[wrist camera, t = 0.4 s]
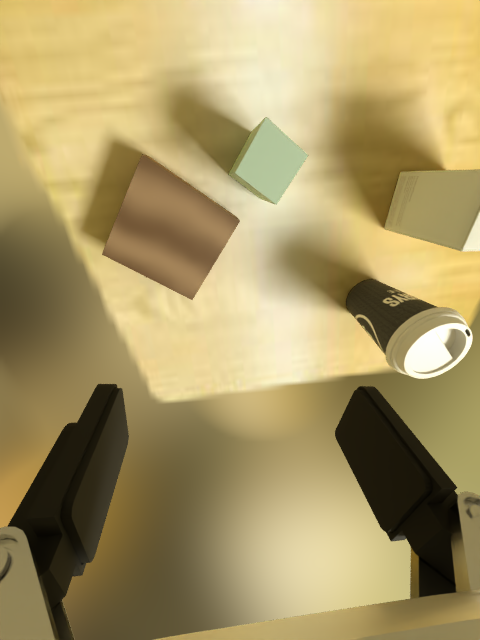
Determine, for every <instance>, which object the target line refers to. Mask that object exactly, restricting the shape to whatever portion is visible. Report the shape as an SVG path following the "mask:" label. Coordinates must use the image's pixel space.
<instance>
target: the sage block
mask: <svg viewBox="0 0 480 640" xmlns="http://www.w3.org/2000/svg"><path fill="white" fill-rule="evenodd" d="M307 157H308V155H307V154H306V153H305V152H304V151H303V150H302V149H301V148H300V147H299V146H298V145H296V144H295V143H294V142H293V141H292V140H291V139H290V138H289V137H288V136H287V135H285V134H284V133H283V132H282V131H281V130H280V129H279V128H278V127H277V126H276V125H275V124H273V123H272V122H271V121H270V120H269V119H268V118H267V117H265V118H264V119H263V121H262V122H261V123H260V124H259V125H258V126H257V127H256V128H255V129H254V130H253V131H252V132H251V134H250V135H249V137H248V139H247V141H246V143H245V145H244V146H243V148H242V150H241V152H240V154H239V156H238V157H237V159H236V161H235V163H234V165H233V167H232V168H231V170H230V172H229V174H228V175H230V176H231V177H232V178H234V179H235V180H236V181H238V182H239V183H240V184H242V185H243V186H244V187H246V188H247V189H248V190H250V191H251V192H252V193H254V194H255V195H256V196H258V197H259V198H260V199H262V200H265V201H268V202H270V203H273V204H276V205H277V203H278V202H279V200H280V198H281V197H282V195H283V194H284V192H285V191H286V189H287V188H288V186H289V184H290V183H291V181H292V180H293V178H294V177H295V175H296V174H297V172H298V171H299V169H300V167H301V166H302V164H303V163H304V161H305V160H306V158H307Z"/></svg>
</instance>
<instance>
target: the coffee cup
mask: <svg viewBox="0 0 480 640" xmlns="http://www.w3.org/2000/svg"><path fill="white" fill-rule="evenodd" d="M346 305H347V309H348V310H349V311H350V313H351V314H352V315H353V316H354V318H355V319H356V320H357V321H358V322H359V323H360V325H361V326H362V327H363V328H364V329H365V331H366V332H367V333H368V334H369V336H370V337H371V338H372V339H373V340H374V342H375V343H376V344H377V345H378V346H379V348H380V349H381V350H382V351H383V353H384V354H385V355H386V360H387V363H388V364H389V366H390V367H391V368H393V369H394V370H396V371H398V372H400V373H403V374H406V375H410V376H412V377H415V378H430V377H434V376H437V375H439V374H442V373H444V372H446V371H447V370H449V369H451V368H452V367H453V366H455V365H456V364H457V363H458V362H459V361H460V360H461V359H462V358H463V357H464V356H465V354H466V353H467V352H468V350H469V348H470V346H471V343H472V332H471V330H470V329H469V327H468V325H467V323H466V321H465V320H464V318H463V317H462V316H461V315H460V314H459V313H458V312H457V311H456V310H454V309H451V308H447V307H436V306H434V305H431V304H429V303H427V302H424V301H422V300H420V299H418V298H415V297H413V296H411V295H408V294H406V293H404V292H401V291H399V290H397V289H395V288H392V287H390V286H388V285H386V284H383V283H381V282H379V281H376V280H365V281H363V282H360V283H359V284H357V285H356V286H355V287H354V288H353V289H352V290H351V291H350V293H349V294H348V297H347V300H346Z"/></svg>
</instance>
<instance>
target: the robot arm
mask: <svg viewBox="0 0 480 640" xmlns="http://www.w3.org/2000/svg"><path fill="white" fill-rule="evenodd" d="M335 436H336V439H337V441H338V443H339V445H340V447H341V449H342V451H343V453H344V455H345V457H346V459H347V461H348V463H349V465H350V467H351V469H352V471H353V473H354V475H355V477H356V479H357V481H358V483H359V485H360V487H361V489H362V491H363V493H364V495H365V497H366V499H367V501H368V503H369V505H370V507H371V509H372V511H373V513H374V515H375V517H376V519H377V521H378V523H379V525H380V527H381V528H382V529H383V530H384V531H385V532H386V533H387V535H388V536H389V538H390V540H391V541H399V540H405V539H407V540H408V542H409V544H410V546H411V578H410V599H406V600H399V601H393V602H386V603H380V604H373V605H367V606H359V607H353V608H347V609H340V610H334V611H328V612H321V613H315V614H308V615H302V616H295V617H290V618H283V619H276V620H270V621H264V622H257V623H251V624H245V625H239V626H233V627H226V628H220V629H214V630H208V631H202V632H196V633H190V634H183V635H177V636H171V637H166V638H160V639H155V640H480V496H479V495H477V494H474V493H471V492H462V493H460V494H459V495H457V494H456V492H455V491H454V490H455V489H456V488H457V487H456V485H455V484H454V483H453V482H452V481H451V479H450V478H449V477H448V476H447V474H446V473H445V472H444V471H443V469H442V468H441V467H440V466H439V465H438V463H437V462H436V461H435V460H434V459H433V457H432V456H431V455H430V454H429V452H428V451H427V450H426V449H425V447H424V446H423V445H422V444H421V443H420V441H419V440H418V439H417V438H416V436H415V435H414V434H413V433H412V431H411V430H410V429H409V428H408V426H407V425H406V424H405V423H404V422H403V420H402V419H401V418H400V417H399V415H398V414H397V413H396V412H395V411H394V410H393V408H392V407H391V406H390V404H389V403H388V402H387V401H386V400H385V398H384V397H383V396H382V395H381V394H380V392H379V391H378V390H377V389H376V388H375V387H365V386H364V387H363V386H360V387H358V388H357V390H355V391H354V393H353V395H352V397H351V399H350V401H349V403H348V405H347V407H346V410H345V412H344V414H343V416H342V418H341V420H340V422H339V424H338V426H337V428H336V431H335ZM128 437H129V435H128V428H127V420H126V413H125V405H124V398H123V391H122V389H121V388H117V385H116V384H98V385H97V387H96V388H95V390H94V392H93V394H92V396H91V398H90V400H89V401H88V403H87V406H86V407H85V409H84V411H83V413H82V415H81V417H80V418H79V420H78V422H77V423H69V424H67V425H66V426H65V427H64V429H63V430H62V432H61V434H60V436H59V437H58V439H57V441H56V442H55V444H54V446H53V448H52V449H51V451H50V453H49V455H48V456H47V458H46V460H45V462H44V464H43V465H42V467H41V469H40V470H39V472H38V474H37V476H36V477H35V479H34V481H33V483H32V484H31V486H30V488H29V490H28V492H27V493H26V495H25V497H24V499H23V500H22V502H21V504H20V505H19V507H18V509H17V511H16V513H15V514H14V516H13V518H12V519H11V521H10V523H9V525H8V526H7V527H2V528H0V640H74V636H73V633H72V630H71V627H70V624H69V620H68V617H67V614H66V611H65V608H64V605H63V602H62V599H63V598H64V597H65V596H66V593H67V590H68V587H69V584H70V581H71V578H72V576H81V575H82V574H83V572H84V568H85V565H86V563H90V562H92V560H93V558H94V556H95V553H96V550H97V546H98V543H99V540H100V536H101V533H102V529H103V526H104V522H105V519H106V516H107V512H108V509H109V505H110V502H111V499H112V496H113V492H114V489H115V485H116V482H117V479H118V475H119V472H120V468H121V465H122V462H123V458H124V455H125V452H126V448H127V445H128Z"/></svg>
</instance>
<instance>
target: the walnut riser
mask: <svg viewBox="0 0 480 640" xmlns="http://www.w3.org/2000/svg"><path fill="white" fill-rule="evenodd" d="M239 222H240V221H239V219H238V218H237V217H236V216H235V215H233V214H232V213H230V212H229V211H227V210H226V209H224V208H223V207H221V206H220V205H219V204H217V203H216V202H214V201H213V200H211V199H210V198H208V197H207V196H206V195H204V194H203V193H201V192H200V191H198V190H197V189H195V188H194V187H193V186H191V185H190V184H188V183H187V182H185V181H184V180H182V179H181V178H180V177H178V176H177V175H175V174H174V173H172V172H171V171H169V170H168V169H166V168H165V167H164V166H162V165H161V164H159V163H158V162H156V161H155V160H153V159H152V158H151V157H149V156H146V155H144V154H142V156H141V158H140V161H139V163H138V166H137V168H136V171H135V173H134V176H133V178H132V181H131V183H130V186H129V188H128V191H127V193H126V196H125V198H124V201H123V203H122V206H121V208H120V211H119V213H118V216H117V218H116V221H115V223H114V226H113V228H112V231H111V233H110V236H109V238H108V241H107V243H106V245H105V248H104V250H103V253H102V255H104V256H106V257H108V258H110V259H112V260H114V261H116V262H118V263H120V264H122V265H124V266H126V267H128V268H130V269H132V270H134V271H136V272H138V273H140V274H142V275H144V276H146V277H148V278H150V279H152V280H154V281H156V282H158V283H160V284H162V285H164V286H166V287H168V288H169V289H171V290H173V291H175V292H177V293H179V294H181V295H183V296H185V297H187V298H189V299H191V300H193V298H194V296H195V295H196V293H197V291H198V290H199V288H200V286H201V285H202V283H203V281H204V280H205V278H206V276H207V275H208V273H209V272H210V270H211V268H212V267H213V265H214V263H215V262H216V260H217V258H218V257H219V255H220V253H221V252H222V250H223V248H224V247H225V245H226V243H227V242H228V240H229V238H230V237H231V235H232V233H233V232H234V230H235V228H236V227H237V225H238V223H239Z"/></svg>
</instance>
